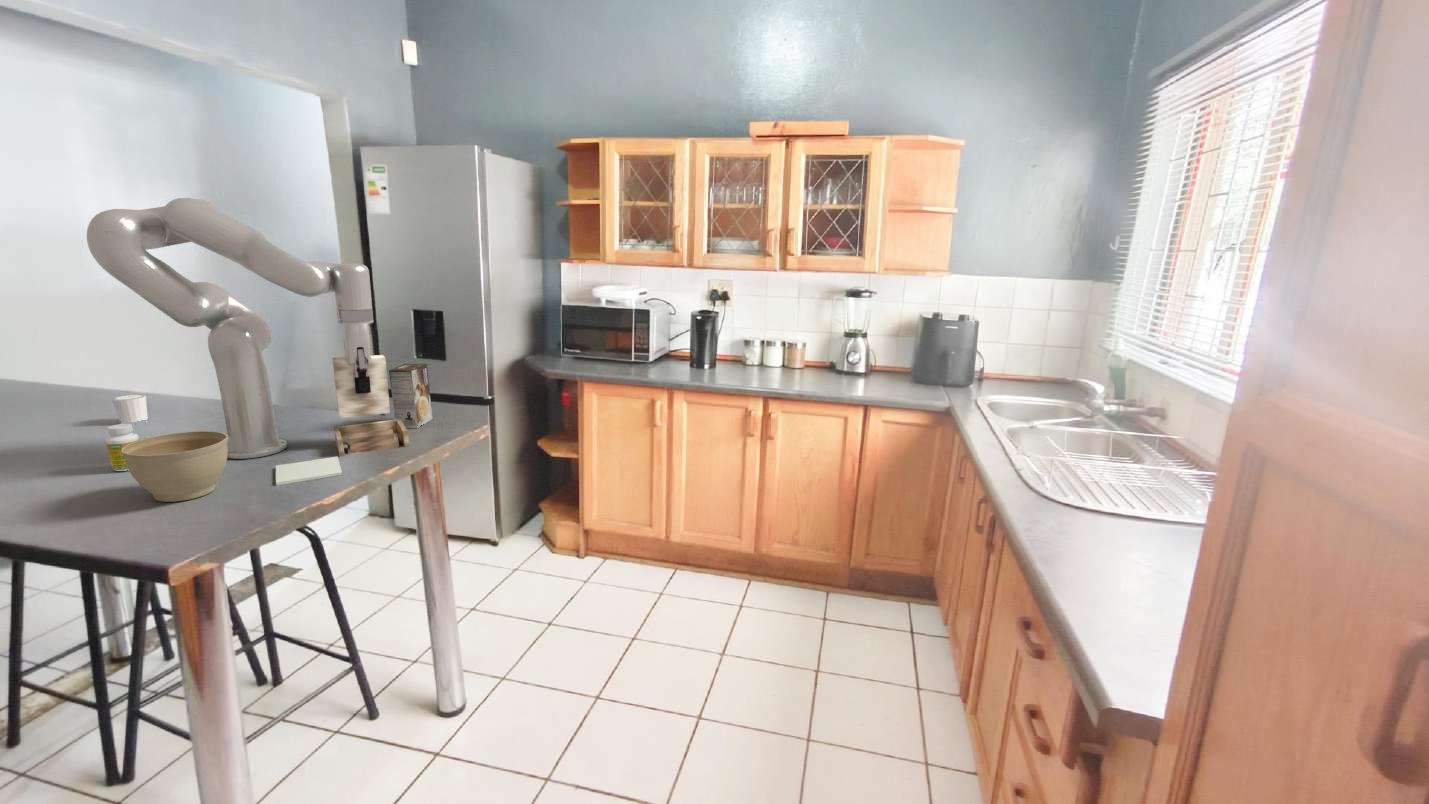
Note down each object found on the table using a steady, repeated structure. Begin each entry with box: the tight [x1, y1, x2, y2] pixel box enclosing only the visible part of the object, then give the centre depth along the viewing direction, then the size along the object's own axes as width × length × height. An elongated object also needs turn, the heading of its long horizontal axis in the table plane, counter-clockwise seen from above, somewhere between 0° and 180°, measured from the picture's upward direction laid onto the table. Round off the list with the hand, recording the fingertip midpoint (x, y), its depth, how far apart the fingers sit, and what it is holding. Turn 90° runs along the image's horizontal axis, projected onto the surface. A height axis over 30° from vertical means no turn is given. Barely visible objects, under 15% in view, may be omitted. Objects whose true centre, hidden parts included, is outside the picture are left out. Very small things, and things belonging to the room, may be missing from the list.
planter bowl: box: [121, 430, 228, 503], centre depth 129 cm, size 16×16×11 cm
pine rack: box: [333, 419, 410, 457], centre depth 161 cm, size 15×12×4 cm
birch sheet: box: [332, 354, 391, 419], centre depth 160 cm, size 11×4×14 cm, turn 123°
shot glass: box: [111, 393, 149, 422], centre depth 176 cm, size 7×7×7 cm
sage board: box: [275, 456, 343, 486], centre depth 143 cm, size 12×12×1 cm
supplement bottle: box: [105, 423, 141, 470], centre depth 142 cm, size 5×5×10 cm
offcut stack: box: [346, 429, 400, 455], centre depth 159 cm, size 11×5×4 cm, turn 119°
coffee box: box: [388, 363, 434, 429], centre depth 178 cm, size 9×6×16 cm
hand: (362, 390), depth 160 cm, fingers closed on birch sheet, 4 cm apart
